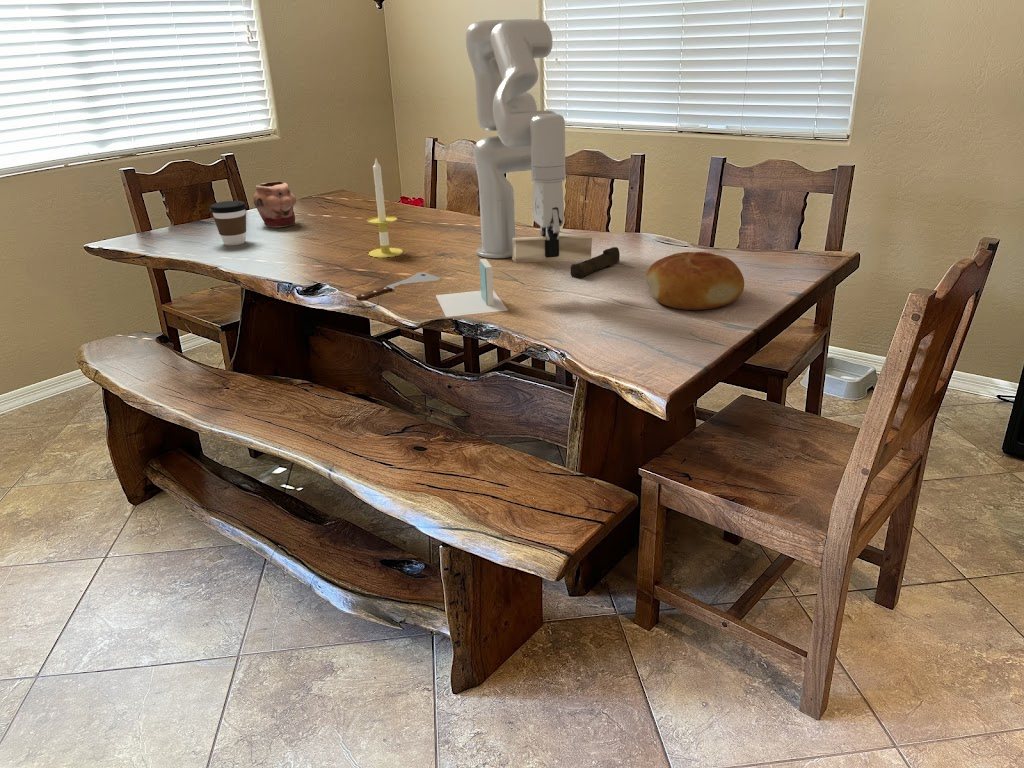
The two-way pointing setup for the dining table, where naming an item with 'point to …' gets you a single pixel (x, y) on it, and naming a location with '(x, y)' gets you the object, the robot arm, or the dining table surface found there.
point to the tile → (486, 281)
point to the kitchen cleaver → (416, 278)
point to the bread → (695, 281)
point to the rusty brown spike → (596, 263)
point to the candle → (382, 219)
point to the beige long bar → (535, 248)
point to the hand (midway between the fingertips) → (549, 254)
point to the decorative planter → (275, 204)
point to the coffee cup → (230, 221)
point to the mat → (468, 304)
